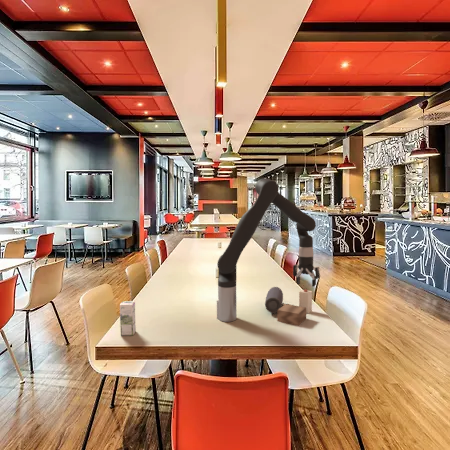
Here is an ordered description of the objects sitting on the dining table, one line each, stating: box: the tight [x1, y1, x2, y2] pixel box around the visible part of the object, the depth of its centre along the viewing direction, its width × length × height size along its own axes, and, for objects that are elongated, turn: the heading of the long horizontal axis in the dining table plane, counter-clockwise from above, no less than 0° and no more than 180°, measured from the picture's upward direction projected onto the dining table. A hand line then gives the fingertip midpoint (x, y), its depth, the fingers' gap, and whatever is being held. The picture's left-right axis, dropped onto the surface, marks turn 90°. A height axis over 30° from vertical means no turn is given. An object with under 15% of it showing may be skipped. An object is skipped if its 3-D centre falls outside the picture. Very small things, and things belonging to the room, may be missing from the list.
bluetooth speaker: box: [264, 286, 284, 314], centre depth 191 cm, size 23×9×10 cm, turn 168°
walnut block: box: [276, 303, 307, 326], centre depth 173 cm, size 11×11×6 cm
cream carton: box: [298, 288, 313, 315], centre depth 186 cm, size 5×5×12 cm
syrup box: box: [119, 300, 137, 337], centre depth 157 cm, size 6×6×14 cm
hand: (306, 285), depth 185 cm, fingers open, 8 cm apart
